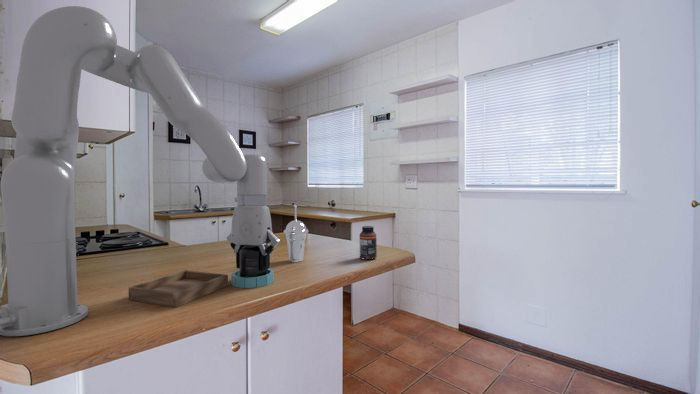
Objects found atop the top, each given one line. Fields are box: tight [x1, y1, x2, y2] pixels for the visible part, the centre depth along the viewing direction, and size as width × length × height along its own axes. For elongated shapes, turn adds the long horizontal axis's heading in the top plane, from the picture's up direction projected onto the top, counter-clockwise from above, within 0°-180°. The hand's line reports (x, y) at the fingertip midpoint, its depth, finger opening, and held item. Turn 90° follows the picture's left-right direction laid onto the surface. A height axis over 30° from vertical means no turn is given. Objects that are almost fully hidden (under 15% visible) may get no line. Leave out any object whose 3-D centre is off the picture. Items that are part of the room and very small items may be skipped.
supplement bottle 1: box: [239, 245, 266, 277], centre depth 88 cm, size 7×7×12 cm
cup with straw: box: [282, 202, 309, 263], centre depth 111 cm, size 8×9×20 cm
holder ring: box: [230, 268, 275, 289], centre depth 88 cm, size 11×11×2 cm
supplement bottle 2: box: [359, 225, 378, 259], centre depth 116 cm, size 6×6×11 cm
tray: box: [127, 269, 229, 308], centre depth 79 cm, size 16×14×3 cm
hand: (252, 267), depth 88 cm, fingers closed on supplement bottle 1, 6 cm apart
